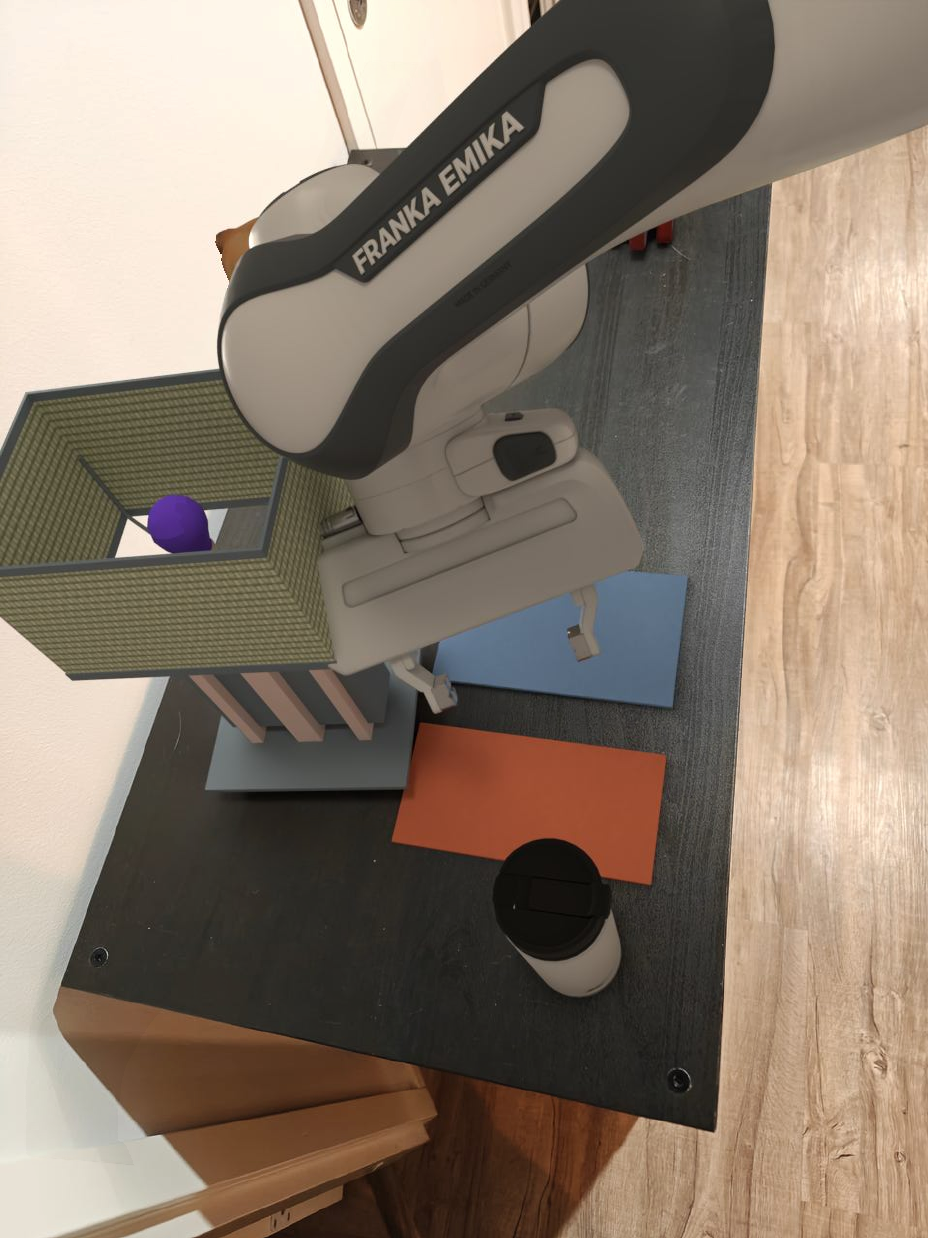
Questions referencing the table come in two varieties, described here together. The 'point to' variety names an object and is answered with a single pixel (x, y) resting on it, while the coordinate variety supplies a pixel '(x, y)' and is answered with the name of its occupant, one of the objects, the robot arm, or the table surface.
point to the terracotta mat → (532, 798)
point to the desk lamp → (192, 578)
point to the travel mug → (559, 915)
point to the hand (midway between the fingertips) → (516, 681)
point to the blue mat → (545, 662)
